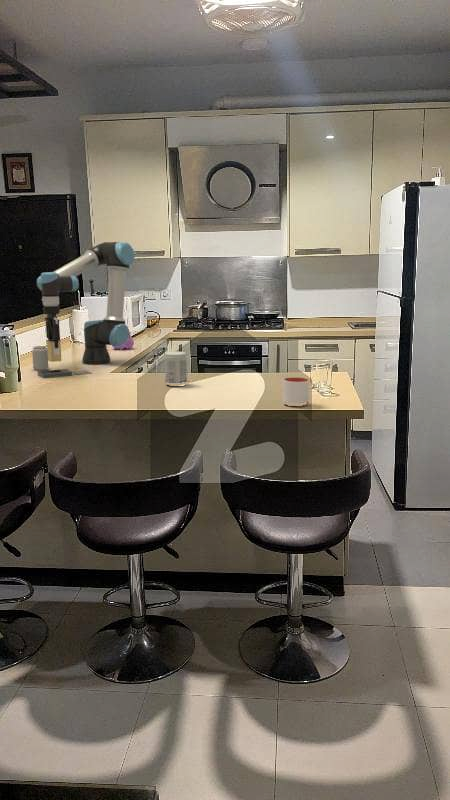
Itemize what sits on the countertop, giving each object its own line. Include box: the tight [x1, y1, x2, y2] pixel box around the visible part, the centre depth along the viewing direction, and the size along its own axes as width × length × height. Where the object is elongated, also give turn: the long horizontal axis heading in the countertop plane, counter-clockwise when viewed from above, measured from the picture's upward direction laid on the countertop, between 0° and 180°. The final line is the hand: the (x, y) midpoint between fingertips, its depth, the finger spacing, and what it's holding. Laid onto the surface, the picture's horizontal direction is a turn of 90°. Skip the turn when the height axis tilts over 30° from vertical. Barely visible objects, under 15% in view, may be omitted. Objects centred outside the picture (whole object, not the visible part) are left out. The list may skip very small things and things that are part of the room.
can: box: [31, 345, 49, 372], centre depth 314 cm, size 8×8×12 cm
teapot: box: [112, 331, 135, 351], centre depth 390 cm, size 20×14×12 cm
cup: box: [282, 376, 310, 403], centre depth 239 cm, size 10×10×10 cm
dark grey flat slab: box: [37, 368, 73, 379], centre depth 299 cm, size 14×9×2 cm, turn 124°
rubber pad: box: [72, 370, 93, 376], centre depth 307 cm, size 8×8×1 cm
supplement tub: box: [164, 351, 188, 383], centre depth 275 cm, size 10×10×15 cm
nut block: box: [46, 339, 62, 363], centre depth 297 cm, size 5×5×10 cm
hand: (54, 353), depth 297 cm, fingers closed on nut block, 5 cm apart
